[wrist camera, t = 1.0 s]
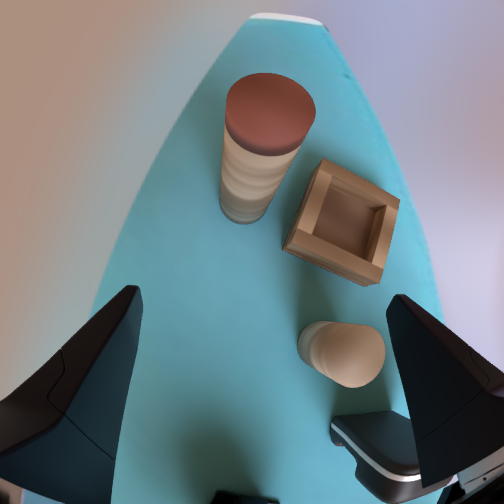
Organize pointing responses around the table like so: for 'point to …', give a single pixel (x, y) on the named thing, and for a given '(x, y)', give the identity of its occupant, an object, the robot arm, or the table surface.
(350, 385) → the short pin
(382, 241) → the light brown square frame
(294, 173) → the table surface
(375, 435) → the battery charger
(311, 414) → the table surface
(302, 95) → the long pin
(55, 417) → the robot arm
